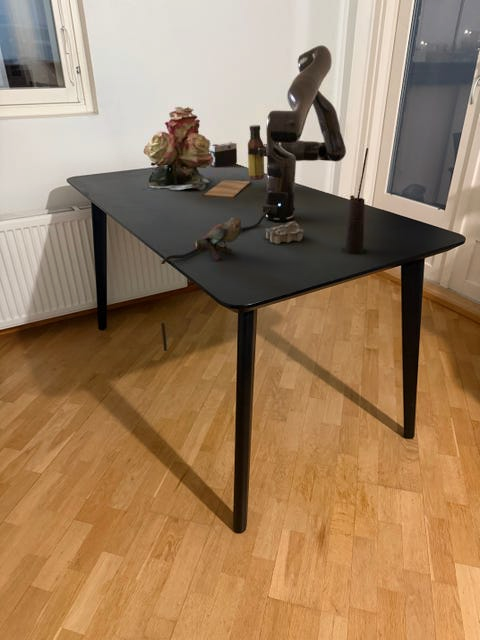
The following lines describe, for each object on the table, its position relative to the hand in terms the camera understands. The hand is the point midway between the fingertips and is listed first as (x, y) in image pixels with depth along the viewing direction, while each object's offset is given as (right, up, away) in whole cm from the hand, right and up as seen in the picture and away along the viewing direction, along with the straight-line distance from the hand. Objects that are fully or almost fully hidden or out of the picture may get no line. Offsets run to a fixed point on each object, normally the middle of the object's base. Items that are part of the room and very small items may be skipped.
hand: (250, 149), depth 181 cm
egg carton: (+9, -42, -41) cm, 60 cm away
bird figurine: (-11, -49, -52) cm, 73 cm away
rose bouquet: (-28, -8, +17) cm, 34 cm away
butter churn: (+28, -47, -49) cm, 73 cm away
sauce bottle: (+2, -10, +5) cm, 11 cm away
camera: (-13, +12, +51) cm, 54 cm away
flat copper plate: (-9, -13, +10) cm, 18 cm away
